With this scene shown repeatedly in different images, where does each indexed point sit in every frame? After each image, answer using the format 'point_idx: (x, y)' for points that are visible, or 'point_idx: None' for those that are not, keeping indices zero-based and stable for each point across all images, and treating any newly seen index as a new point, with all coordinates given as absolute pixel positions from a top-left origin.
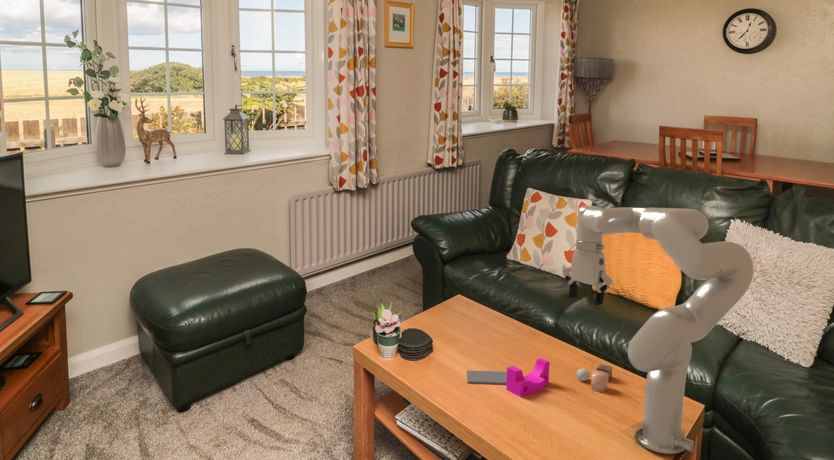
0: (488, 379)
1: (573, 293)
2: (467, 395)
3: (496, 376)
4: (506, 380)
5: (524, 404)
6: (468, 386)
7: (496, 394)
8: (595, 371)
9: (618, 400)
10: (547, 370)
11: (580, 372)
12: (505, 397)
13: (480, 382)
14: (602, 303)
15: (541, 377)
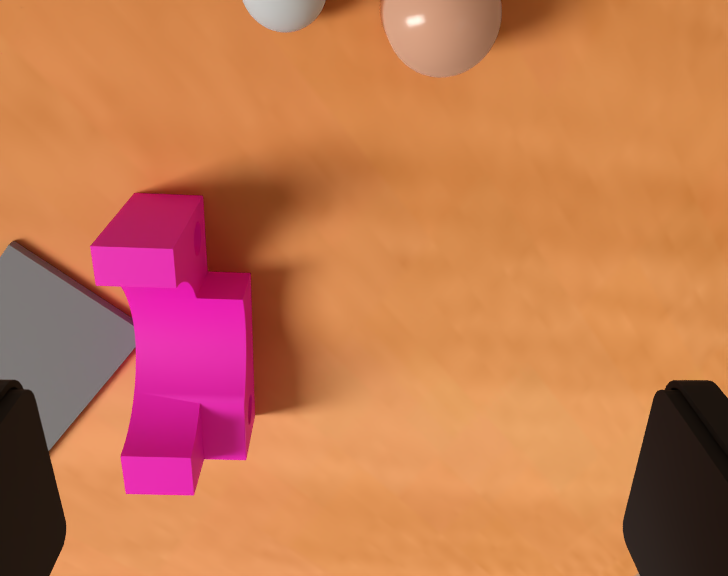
0: None
1: (17, 547)
2: (125, 553)
3: (13, 369)
4: (80, 364)
5: (319, 447)
6: None
7: None
8: (397, 9)
9: (595, 56)
10: (186, 240)
11: (284, 25)
12: (221, 462)
13: None
14: (704, 387)
15: (196, 272)
